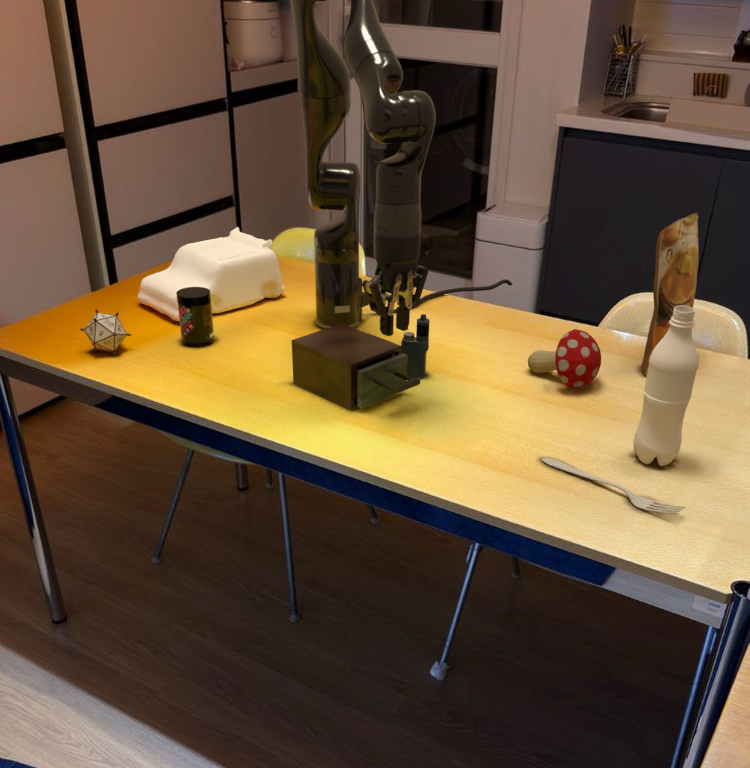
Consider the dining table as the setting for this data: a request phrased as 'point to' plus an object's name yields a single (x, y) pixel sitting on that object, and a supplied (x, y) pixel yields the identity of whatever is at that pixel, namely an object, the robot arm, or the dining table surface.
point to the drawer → (382, 379)
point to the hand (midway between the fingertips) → (394, 331)
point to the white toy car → (217, 274)
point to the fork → (635, 499)
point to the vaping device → (417, 348)
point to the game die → (105, 332)
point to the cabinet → (335, 360)
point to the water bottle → (667, 390)
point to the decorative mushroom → (570, 359)
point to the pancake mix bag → (672, 277)
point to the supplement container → (195, 316)
